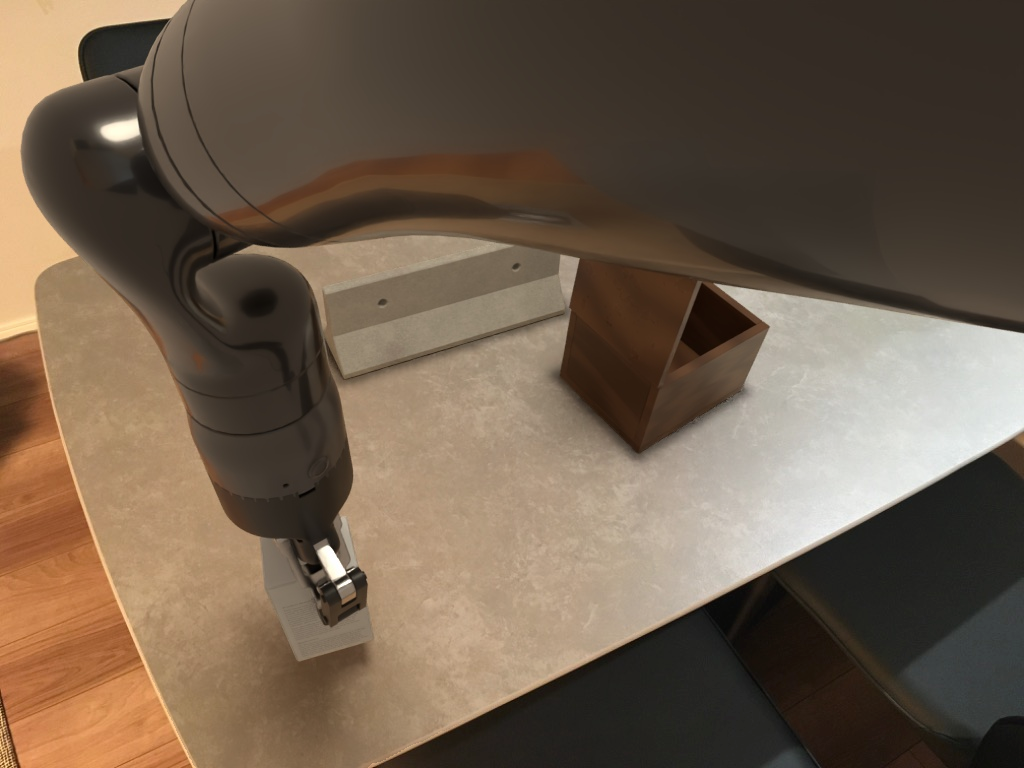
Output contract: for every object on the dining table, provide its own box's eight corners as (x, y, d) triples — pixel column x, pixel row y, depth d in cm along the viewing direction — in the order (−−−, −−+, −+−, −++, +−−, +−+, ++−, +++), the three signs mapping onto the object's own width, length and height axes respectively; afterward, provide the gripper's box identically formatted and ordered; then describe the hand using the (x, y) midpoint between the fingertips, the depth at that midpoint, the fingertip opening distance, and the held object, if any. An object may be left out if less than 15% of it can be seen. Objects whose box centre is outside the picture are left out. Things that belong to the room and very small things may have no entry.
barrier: (344, 379, 80) (334, 312, 72) (324, 337, 84) (312, 268, 76) (564, 313, 89) (575, 247, 82) (537, 278, 93) (545, 212, 86)
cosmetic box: (364, 592, 59) (349, 513, 51) (375, 641, 57) (360, 567, 48) (288, 612, 58) (257, 534, 49) (295, 664, 55) (264, 592, 46)
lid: (608, 155, 63) (562, 169, 60) (720, 234, 56) (673, 254, 54) (574, 305, 75) (535, 321, 72) (663, 385, 68) (623, 406, 66)
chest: (661, 323, 89) (680, 258, 82) (741, 390, 83) (770, 326, 75) (559, 375, 82) (570, 309, 75) (638, 453, 76) (659, 390, 68)
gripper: (157, 381, 41) (227, 535, 54) (263, 573, 34) (315, 700, 47) (282, 331, 45) (320, 488, 57) (403, 497, 37) (416, 635, 50)
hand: (318, 582), depth 52 cm, fingers closed on cosmetic box, 5 cm apart
